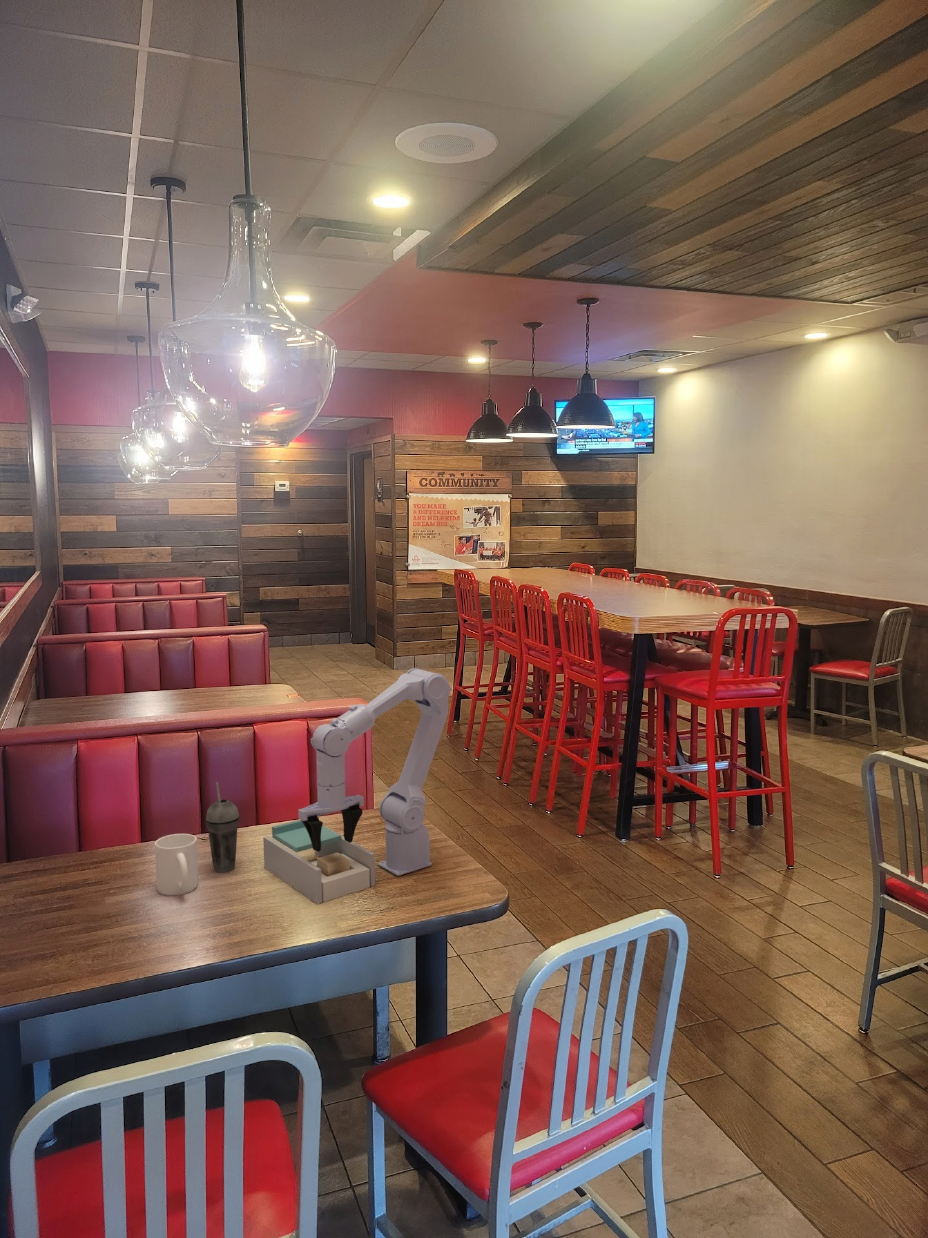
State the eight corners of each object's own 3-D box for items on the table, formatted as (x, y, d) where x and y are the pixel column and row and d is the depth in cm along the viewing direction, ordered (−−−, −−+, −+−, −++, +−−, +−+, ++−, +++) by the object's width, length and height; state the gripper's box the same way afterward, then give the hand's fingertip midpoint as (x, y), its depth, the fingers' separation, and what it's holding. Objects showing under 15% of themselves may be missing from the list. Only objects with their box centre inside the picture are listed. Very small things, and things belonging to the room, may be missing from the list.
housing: (319, 852, 200) (318, 823, 199) (375, 885, 182) (374, 853, 181) (264, 867, 191) (263, 837, 190) (317, 904, 173) (316, 870, 172)
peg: (338, 879, 185) (337, 852, 184) (350, 887, 181) (349, 860, 180) (317, 885, 182) (316, 858, 181) (328, 893, 178) (328, 865, 177)
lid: (316, 826, 197) (316, 815, 197) (341, 840, 189) (341, 829, 188) (272, 837, 190) (271, 826, 190) (296, 852, 182) (296, 841, 181)
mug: (206, 898, 176) (204, 849, 175) (164, 907, 172) (162, 857, 171) (193, 877, 186) (191, 831, 185) (153, 885, 182) (151, 838, 181)
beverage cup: (248, 866, 192) (245, 779, 189) (223, 878, 186) (219, 788, 183) (225, 860, 196) (222, 774, 193) (200, 871, 189) (196, 782, 187)
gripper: (350, 771, 187) (352, 832, 188) (290, 785, 178) (292, 848, 179) (368, 779, 181) (369, 841, 183) (307, 793, 172) (309, 858, 174)
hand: (332, 845), depth 181 cm, fingers open, 7 cm apart
